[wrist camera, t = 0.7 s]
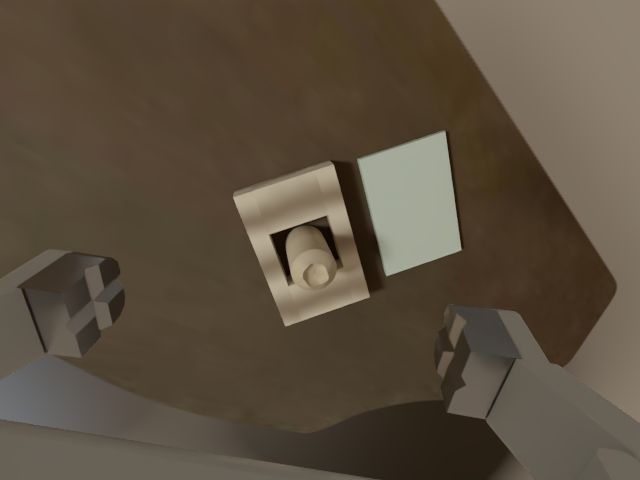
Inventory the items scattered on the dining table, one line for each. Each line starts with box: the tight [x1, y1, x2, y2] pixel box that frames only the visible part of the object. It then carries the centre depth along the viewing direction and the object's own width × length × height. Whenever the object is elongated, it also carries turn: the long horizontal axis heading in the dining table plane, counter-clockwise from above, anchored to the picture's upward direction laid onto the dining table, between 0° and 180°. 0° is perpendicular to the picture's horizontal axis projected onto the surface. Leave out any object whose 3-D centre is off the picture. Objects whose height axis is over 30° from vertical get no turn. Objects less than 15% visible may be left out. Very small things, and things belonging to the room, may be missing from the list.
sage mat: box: [357, 131, 461, 276], centre depth 50 cm, size 18×12×1 cm, turn 16°
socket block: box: [233, 160, 370, 326], centre depth 49 cm, size 20×13×3 cm, turn 16°
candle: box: [285, 225, 337, 291], centre depth 45 cm, size 6×6×10 cm
